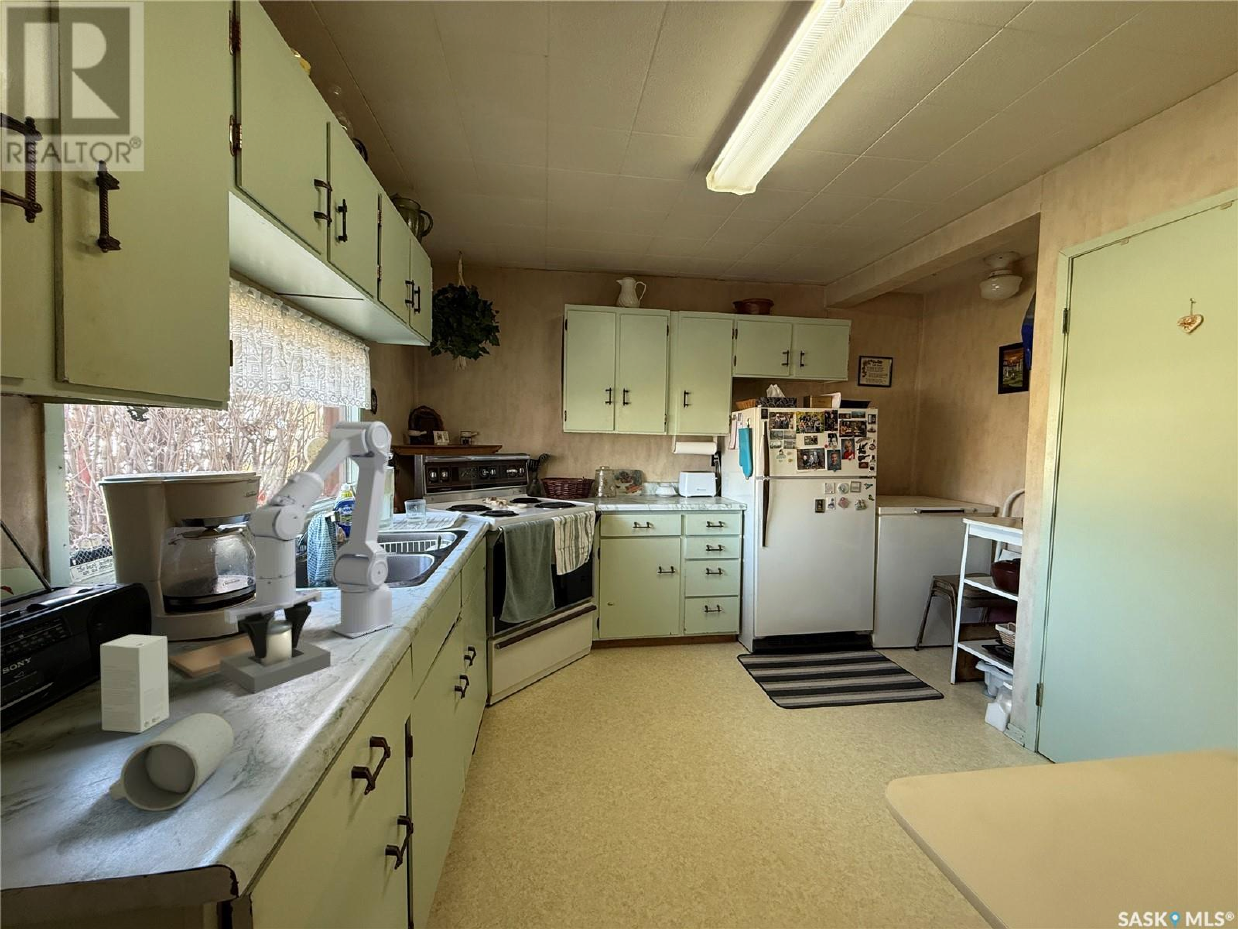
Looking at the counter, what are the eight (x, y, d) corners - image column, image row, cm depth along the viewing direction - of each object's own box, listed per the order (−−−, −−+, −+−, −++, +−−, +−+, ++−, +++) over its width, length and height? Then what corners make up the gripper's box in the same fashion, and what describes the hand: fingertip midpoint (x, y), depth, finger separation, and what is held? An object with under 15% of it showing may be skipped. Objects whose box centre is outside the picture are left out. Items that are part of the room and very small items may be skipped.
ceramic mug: (240, 761, 64) (238, 702, 63) (198, 808, 56) (196, 740, 55) (143, 770, 62) (141, 709, 62) (86, 820, 54) (82, 750, 54)
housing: (295, 649, 97) (294, 637, 97) (330, 665, 91) (330, 652, 91) (220, 673, 87) (220, 659, 86) (254, 693, 80) (254, 678, 80)
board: (258, 637, 102) (258, 632, 102) (283, 649, 97) (283, 644, 97) (169, 662, 90) (169, 657, 90) (193, 677, 85) (193, 671, 85)
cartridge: (284, 661, 92) (283, 618, 91) (297, 668, 89) (297, 623, 89) (255, 671, 88) (255, 626, 87) (268, 678, 85) (268, 631, 85)
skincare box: (170, 717, 73) (169, 635, 73) (139, 734, 69) (138, 648, 68) (132, 714, 74) (131, 633, 73) (99, 731, 70) (97, 645, 69)
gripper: (238, 588, 80) (239, 673, 80) (331, 569, 92) (331, 643, 93) (218, 581, 83) (219, 662, 84) (309, 563, 96) (310, 634, 96)
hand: (276, 651), depth 88 cm, fingers closed on cartridge, 4 cm apart
